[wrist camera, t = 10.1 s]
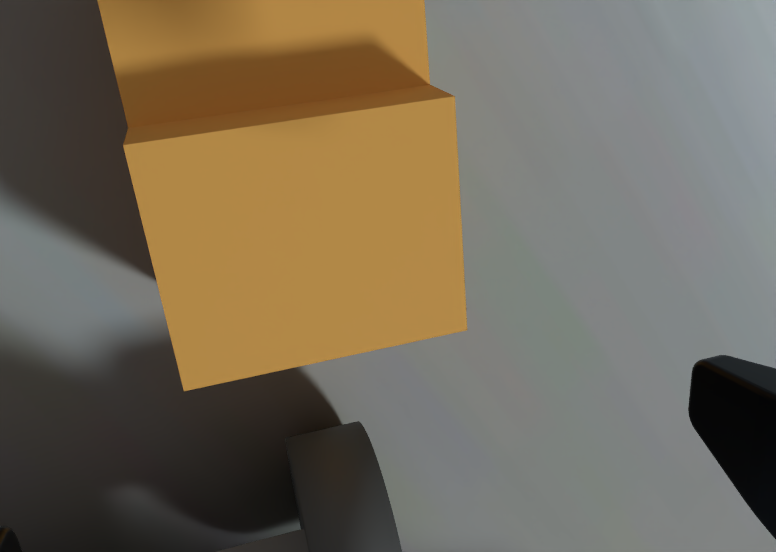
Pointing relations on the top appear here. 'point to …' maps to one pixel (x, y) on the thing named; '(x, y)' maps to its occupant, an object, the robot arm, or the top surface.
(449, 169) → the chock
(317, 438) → the trolley
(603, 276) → the top surface
